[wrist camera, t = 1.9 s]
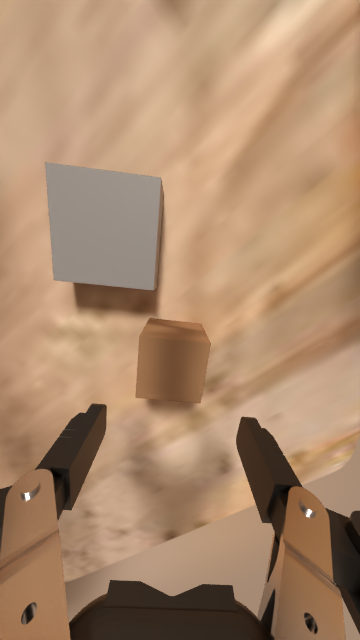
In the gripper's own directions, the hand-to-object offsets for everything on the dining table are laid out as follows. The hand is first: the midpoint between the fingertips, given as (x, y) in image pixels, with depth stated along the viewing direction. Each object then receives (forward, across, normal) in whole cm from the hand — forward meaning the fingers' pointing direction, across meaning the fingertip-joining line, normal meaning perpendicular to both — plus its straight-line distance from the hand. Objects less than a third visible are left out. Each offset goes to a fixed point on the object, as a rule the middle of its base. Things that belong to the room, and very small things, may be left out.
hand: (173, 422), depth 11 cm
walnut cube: (+12, 0, 0) cm, 12 cm away
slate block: (+12, +7, -11) cm, 18 cm away
